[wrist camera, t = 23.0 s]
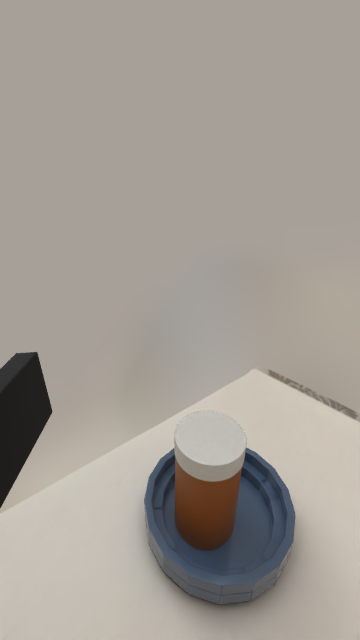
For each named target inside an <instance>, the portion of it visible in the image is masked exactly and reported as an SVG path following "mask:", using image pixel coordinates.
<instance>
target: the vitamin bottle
mask: <svg viewBox="0 0 360 640" xmlns="http://www.w3.org/2000/svg"><path fill="white" fill-rule="evenodd" d="M246 444H247V440H246V435H245V432H244V430H243V428H242V427H241V426H240V424H239V423H238V422H237V421H235V420H234V419H233V418H231V417H229V416H228V415H225V414H223V413H220V412H216V411H198V412H194V413H191V414H189V415H187V416H185V417H184V418H183V419H182V420H181V421H180V422H179V423H178V425H177V427H176V429H175V437H174V452H175V524H176V527H177V530H178V532H179V534H180V535H181V537H182V538H183V539H184V540H185V541H186V542H187V543H188V544H189V545H191V546H193V547H195V548H197V549H200V550H213V549H217V548H219V547H221V546H222V545H224V544H225V543H226V542H227V541H228V539H229V538H230V536H231V534H232V532H233V528H234V521H235V514H236V507H237V500H238V492H239V485H240V478H241V471H242V465H243V463H244V458H245V451H246Z"/></svg>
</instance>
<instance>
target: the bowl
mask: <svg viewBox="0 0 360 640" xmlns="http://www.w3.org/2000/svg"><path fill="white" fill-rule="evenodd" d="M144 505H145V521H146V527H147V534H148V540H149V545H150V547H151V549H152V551H153V553H154V555H155V557H156V559H157V560H158V562H159V564H160V566H161V568H162V570H163V571H164V573H165V574H166V575H168V576H169V577H170V578H171V579H172V580H173V581H174V582H176V583H177V584H178V585H179V586H180V587H181V588H182V589H183V590H185V591H186V592H187V593H189V594H190V595H193V596H196V597H199V598H202V599H205V600H207V601H210V602H213V603H216V604H227V603H235V602H244V601H251V600H253V599H254V598H256V597H257V596H258V595H260V594H261V593H263V592H264V591H266V590H267V589H269V588H270V587H272V586H273V585H274V584H275V583H276V581H277V579H278V577H279V576H280V574H281V572H282V570H283V568H284V566H285V565H286V563H287V561H288V558H289V555H290V551H291V547H292V544H293V538H294V525H295V511H294V508H293V504H292V501H291V498H290V494H289V491H288V489H287V487H286V485H285V484H284V482H283V481H282V479H281V478H280V476H279V475H278V473H277V472H276V470H275V469H274V468H273V467H272V466H271V465H270V464H269V463H268V462H266V461H265V460H264V459H263V458H262V457H261V456H259V455H258V454H257V453H256V452H254V451H252V450H250V449H248V448H246V451H245V458H244V463H243V465H242V471H241V478H240V485H239V492H238V500H237V507H236V514H235V521H234V528H233V532H232V534H231V536H230V538H229V539H228V541H227V542H226V543H225V544H224V545H222V546H221V547H219V548H217V549H213V550H200V549H197V548H195V547H193V546H191V545H189V544H188V543H187V542H186V541H185V540H184V539H183V538H182V537H181V535H180V534H179V532H178V530H177V527H176V524H175V452H174V449H172V450H171V451H170V452H169V453H167V454H166V455H165V456H164V457H162V458H161V459H160V460H159V462H158V464H157V465H156V467H155V468H154V470H153V472H152V473H151V475H150V476H149V480H148V485H147V490H146V495H145V499H144Z"/></svg>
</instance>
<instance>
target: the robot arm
mask: <svg viewBox="0 0 360 640" xmlns="http://www.w3.org/2000/svg"><path fill="white" fill-rule="evenodd" d="M51 414H52V408H51V404H50V400H49V396H48V392H47V389H46V385H45V381H44V377H43V373H42V369H41V365H40V361H39V357H38V354H37V352H31V353H16V354H15V355H14V356H13V357H12V358H11V359H10V360H9V361H8V362H7V363H6V364H5V365H4V366H3V367H2V368H1V369H0V508H1V506H2V504H3V502H4V501H5V499H6V497H7V495H8V493H9V491H10V489H11V488H12V486H13V484H14V482H15V480H16V478H17V476H18V475H19V473H20V471H21V469H22V467H23V465H24V464H25V462H26V460H27V458H28V456H29V454H30V452H31V451H32V448H33V447H34V445H35V443H36V441H37V439H38V438H39V436H40V434H41V432H42V430H43V428H44V426H45V425H46V423H47V421H48V419H49V417H50V415H51Z"/></svg>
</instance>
